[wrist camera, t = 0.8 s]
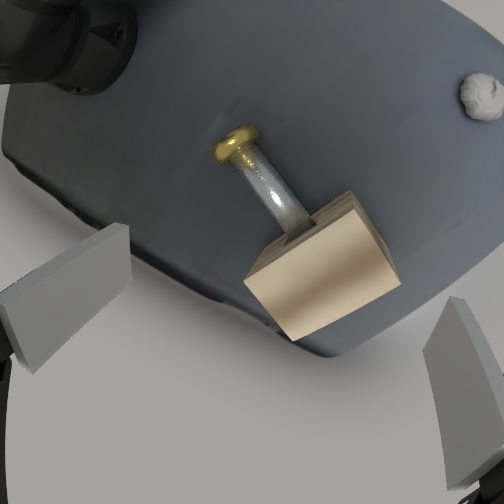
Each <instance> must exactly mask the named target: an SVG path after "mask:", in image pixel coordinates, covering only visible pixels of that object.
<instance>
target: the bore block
mask: <svg viewBox="0 0 504 504" xmlns="http://www.w3.org/2000/svg"><path fill="white" fill-rule="evenodd" d="M311 218H312V219H313V220H314V222H315V223H316V226H314V227H313V228H311V229H310V230H308V231H307V232H305V233H304V234H302V235H301V236H299V237H298V238H296V239H295V240H293V241H291V240H290V238H289V237H288V236H287V234H286V233H285V234H283V235H282V236H280V237H279V238H277V239H276V240H275V241H273V242H272V243H270V244H269V245H267V246H266V247H265V248H264V249H263V251H262V253H261V254H260V256H259V257H258V259H257V260H256V262H255V263H254V265H253V267H252V268H251V270H250V271H249V273H248V274H247V276H246V277H245V279H244V280H243V282H244V283H245V284H246V285H247V287H248V288H249V289H250V290H251V292H252V293H253V294H254V295H255V296H256V298H257V299H258V300H259V301H260V303H261V304H262V305H263V306H264V307H265V309H266V310H267V311H268V312H269V313H270V315H271V316H272V317H273V318H274V320H275V321H276V322H277V323H278V324H279V326H280V327H281V328H282V329H283V330H284V332H285V333H286V334H287V335H288V336H289V338H290V339H291V340H292V341H295V340H297V339H299V338H301V337H303V336H306V335H308V334H310V333H312V332H314V331H316V330H318V329H320V328H322V327H324V326H326V325H328V324H330V323H332V322H334V321H336V320H338V319H339V318H341V317H343V316H345V315H347V314H349V313H351V312H353V311H355V310H356V309H358V308H360V307H362V306H364V305H366V304H367V303H369V302H371V301H373V300H375V299H376V298H378V297H380V296H382V295H384V294H385V293H387V292H389V291H390V290H392V289H394V288H396V287H397V286H399V285H401V283H400V280H399V277H398V274H397V271H396V268H395V266H394V263H393V260H392V257H391V255H390V252H389V249H388V247H387V245H386V244H385V242H384V241H383V239H382V237H381V236H380V234H379V233H378V231H377V229H376V228H375V226H374V225H373V223H372V222H371V220H370V218H369V217H368V215H367V214H366V212H365V211H364V209H363V208H362V206H361V205H360V203H359V202H358V200H357V199H356V197H355V196H354V194H353V193H352V192H351V190H348V191H347V192H345V193H344V194H342V195H341V196H339V197H338V198H336V199H335V200H333V201H332V202H331V203H329V204H328V205H326V206H325V207H323V208H322V209H320V210H319V211H317V212H316V213H314V214H313V215H311Z"/></svg>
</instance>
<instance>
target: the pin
mask: <svg viewBox="0 0 504 504" xmlns="http://www.w3.org/2000/svg"><path fill="white" fill-rule="evenodd" d="M259 137H260V134H259V133H258V131H257V130H256V129H255V128H254V127H253V125H252V124H251V123H246V124H244V125H242V126H240V127H238V128H236V129H235V130H233V131H232V132H231V133H229V134H228V135H227V136H225V137H224V138H223V139H222V140H221V141H220V142H219V143H218V144H217V145H216V146H215V147H214V148H213V149H212V151H211V155H212V156H213V157H214V159H215V160H216V161H217V162H218V164H219V165H220V166H222V165H224V164H226V163H228V162H231V164H232V165H233V166H234V167H235V169H236V170H237V171H238V172H239V174H240V175H241V176H242V177H243V179H244V180H245V181H246V182H247V184H248V185H249V186H250V188H251V189H252V190H253V191H254V193H255V194H256V195H257V197H258V198H259V199H260V200H261V202H262V203H263V204H264V206H265V207H266V208H267V209H268V211H269V212H270V213H271V215H272V216H273V217H274V219H275V220H276V221H277V222H278V224H279V225H280V226H281V228H282V229H283V230H284V232H285V233H286V234H287V236H288V237H289V238H290V240H291V241H293V240H295V239H296V238H298V237H299V236H301V235H302V234H304V233H305V232H307V231H308V230H310V229H311V228H313V227H314V226H316V223H315V222H314V220H313V219H312V218H311V216H310V215H309V214H308V212H307V211H306V210H305V208H304V207H303V205H302V204H301V203H300V201H299V200H298V199H297V197H296V196H295V195H294V193H293V192H292V191H291V190H290V188H289V187H288V186H287V184H286V183H285V182H284V180H283V179H282V178H281V176H280V175H279V174H278V173H277V171H276V170H275V169H274V167H273V166H272V165H271V164H270V162H269V161H268V160H267V159H266V157H265V156H264V155H263V154H262V152H261V151H260V150H259V149H258V147H257V146H256V145H255V144H254V142H255V141H256V140H257V139H258V138H259Z"/></svg>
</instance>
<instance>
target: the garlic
mask: <svg viewBox="0 0 504 504" xmlns="http://www.w3.org/2000/svg"><path fill="white" fill-rule="evenodd" d="M460 89H461V94H460V98H461V100H462V102H463V103H464V105H465V107H466V113H467V114H468V115H469V116H470V117H472V118H473V119H479V120H481V121H484V122H487V121H492V120H493V121H494V120H497V119H498V118H500V117H501V115H502V114H503V110H504V86H503V85H501V84H500V83H499V81H498V80H494V78H493V77H492V76H491V75H489V74H482V73H480V72H478V73H475V74H471V75H469V76H468V77H466V78H465V79H464V83H463V85H462V86H461V87H460Z"/></svg>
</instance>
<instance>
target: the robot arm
mask: <svg viewBox="0 0 504 504" xmlns="http://www.w3.org/2000/svg"><path fill="white" fill-rule="evenodd" d="M136 36H137V23H136V18H135V15H134V13H133V11H132V10H131V9H130V8H129V7H128V6H127V5H126V4H124V3H122V2H119V1H116V0H0V85H2V84H14V83H34V82H46V83H48V84H51V85H53V86H55V87H57V88H59V89H61V90H63V91H66V92H68V93H70V94H75V95H91V94H95V93H98V92H100V91H102V90H104V89H105V88H107V87H108V86H109V85H110V84H112V83H113V82H114V81H115V80H116V79H117V77H118V76H119V75H120V74H121V72H122V71H123V69H124V68H125V66H126V65H127V63H128V61H129V59H130V57H131V54H132V52H133V49H134V46H135V42H136ZM131 283H132V272H131V260H130V242H129V225H124V224H120V223H113V224H111V225H109V226H108V227H106V228H104V229H102V230H100V231H99V232H97V233H95V234H93V235H92V236H90V237H88V238H86V239H85V240H83V241H81V242H80V243H78V244H76V245H74V246H73V247H71V248H69V249H68V250H66V251H64V252H63V253H61V254H59V255H58V256H56V257H54V258H53V259H51V260H50V261H48V262H46V263H45V264H44V265H42V266H40V267H39V268H37V269H35V270H33V271H32V272H30V273H29V274H27V275H26V276H24V277H22V278H21V279H19V280H18V281H17V282H16V283H13V284H12V285H10V286H9V287H7V288H6V289H5V290H3V291H2V292H0V504H8V500H7V499H8V498H7V487H6V471H5V429H6V412H7V399H8V390H9V382H10V375H11V367H12V361H11V359H10V355H11V354H13V353H15V355H16V357H17V359H18V361H19V364H20V365H21V366H22V367H24V368H25V369H26V370H28V371H29V372H30V373H32V374H34V373H35V372H36V371H37V370H38V369H39V368H40V367H41V366H42V365H43V364H44V363H45V362H46V361H47V360H48V359H49V358H50V357H51V356H52V355H53V354H54V353H55V352H56V351H57V350H59V349H60V347H61V346H63V345H64V344H65V343H66V342H67V341H68V340H69V339H70V338H71V337H72V336H73V335H74V334H75V333H76V332H77V331H79V330H80V329H81V328H82V327H83V326H84V325H85V324H86V323H87V322H88V321H89V320H90V319H91V318H92V317H94V316H95V315H96V314H97V313H98V312H99V311H100V310H101V309H102V308H103V307H105V306H106V305H107V304H108V303H109V302H110V301H111V300H112V299H114V298H115V297H116V296H117V295H118V294H119V293H120V292H121V291H123V290H124V289H125V288H126V287H127V286H128V285H129V284H131ZM423 354H424V358H425V362H426V366H427V370H428V374H429V378H430V383H431V387H432V392H433V396H434V401H435V406H436V411H437V417H438V422H439V428H440V434H441V440H442V447H443V455H444V462H445V471H446V481H447V491H452V490H453V491H454V490H462V489H467V488H468V487H469V486H471V485H472V484H474V483H475V482H476V481H478V480H479V484H480V487H479V488H478V489H476V490H475V491H473V492H472V493H471V494H469V495H468V496H466V497H465V498H463V499H462V500H461V501H460V502H459V503H458V504H463V503H464V502H466V501H467V500H469V501H468V503H467V504H504V374H503V373H502V371H501V369H500V367H499V365H498V363H497V360H496V358H495V356H494V354H493V352H492V350H491V348H490V346H489V343H488V342H487V340H486V338H485V336H484V334H483V332H482V330H481V328H480V326H479V324H478V322H477V320H476V319H475V317H474V315H473V313H472V312H471V310H470V308H469V306H468V304H467V303H466V301H465V300H464V299H459V298H455V297H449V299H448V301H447V304H446V305H445V308H444V310H443V312H442V314H441V316H440V318H439V320H438V322H437V324H436V326H435V328H434V330H433V332H432V334H431V336H430V338H429V340H428V342H427V343H426V345H425V347H424V349H423Z"/></svg>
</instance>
